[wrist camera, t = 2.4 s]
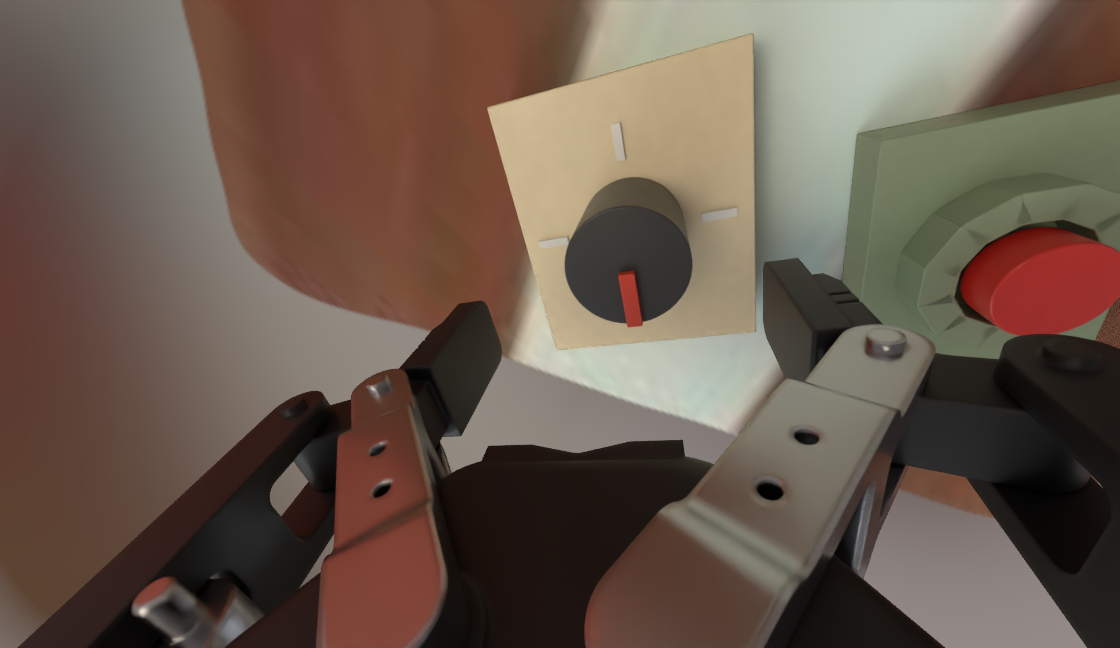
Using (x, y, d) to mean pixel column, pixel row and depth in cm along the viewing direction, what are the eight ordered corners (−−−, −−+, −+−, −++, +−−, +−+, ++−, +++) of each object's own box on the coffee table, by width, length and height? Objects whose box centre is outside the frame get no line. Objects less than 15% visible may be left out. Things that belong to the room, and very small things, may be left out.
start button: (971, 235, 15) (1005, 252, 14) (1100, 217, 14) (1152, 234, 13) (950, 318, 17) (978, 342, 15) (1064, 308, 16) (1106, 332, 14)
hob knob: (572, 188, 18) (549, 222, 14) (678, 166, 16) (688, 196, 12) (592, 281, 20) (577, 333, 16) (688, 267, 18) (698, 321, 14)
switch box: (856, 133, 17) (906, 147, 14) (1146, 74, 15) (1293, 74, 11) (834, 349, 22) (866, 397, 19) (1046, 333, 20) (1127, 385, 16)
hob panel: (508, 103, 19) (485, 107, 16) (738, 39, 16) (754, 32, 14) (565, 322, 25) (555, 352, 22) (744, 302, 22) (756, 334, 19)
